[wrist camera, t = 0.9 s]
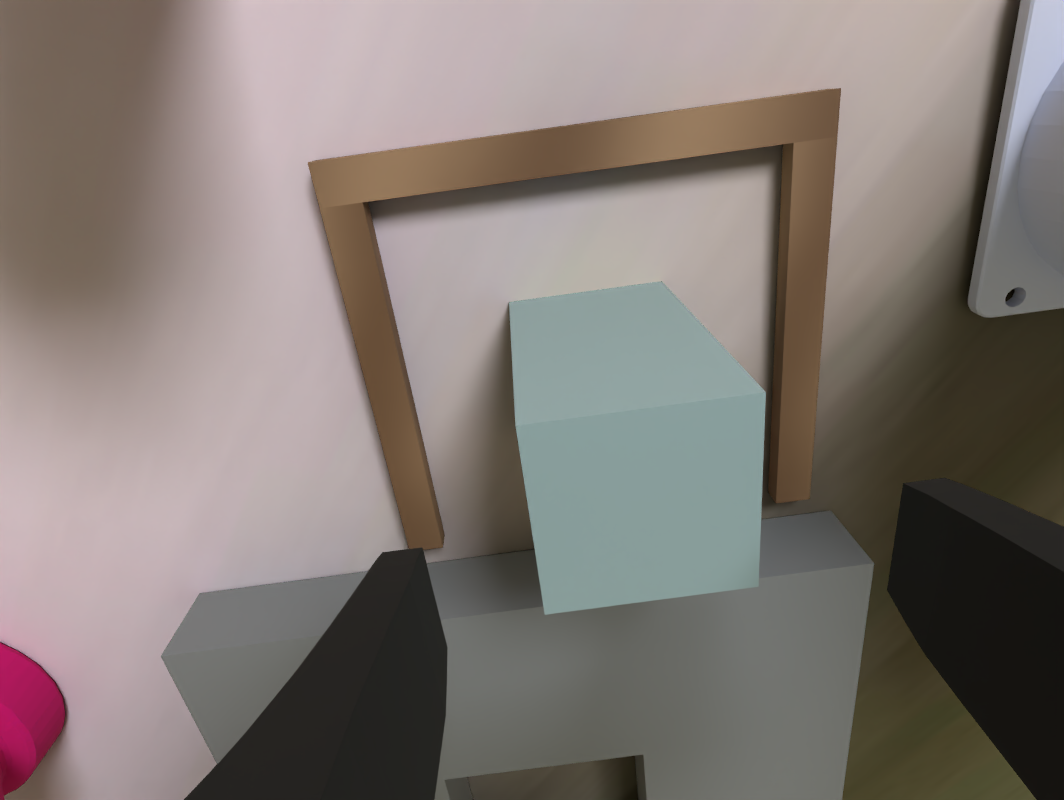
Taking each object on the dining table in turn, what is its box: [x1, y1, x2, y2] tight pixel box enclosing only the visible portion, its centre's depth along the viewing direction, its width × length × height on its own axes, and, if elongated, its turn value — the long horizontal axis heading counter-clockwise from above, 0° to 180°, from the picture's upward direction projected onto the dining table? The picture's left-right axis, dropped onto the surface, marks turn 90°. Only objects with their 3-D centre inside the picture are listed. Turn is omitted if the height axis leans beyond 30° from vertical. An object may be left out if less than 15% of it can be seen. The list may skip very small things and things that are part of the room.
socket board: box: [161, 511, 874, 800], centre depth 23 cm, size 20×20×3 cm
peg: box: [509, 281, 766, 615], centre depth 14 cm, size 4×4×7 cm
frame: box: [308, 88, 841, 550], centre depth 17 cm, size 12×11×1 cm
